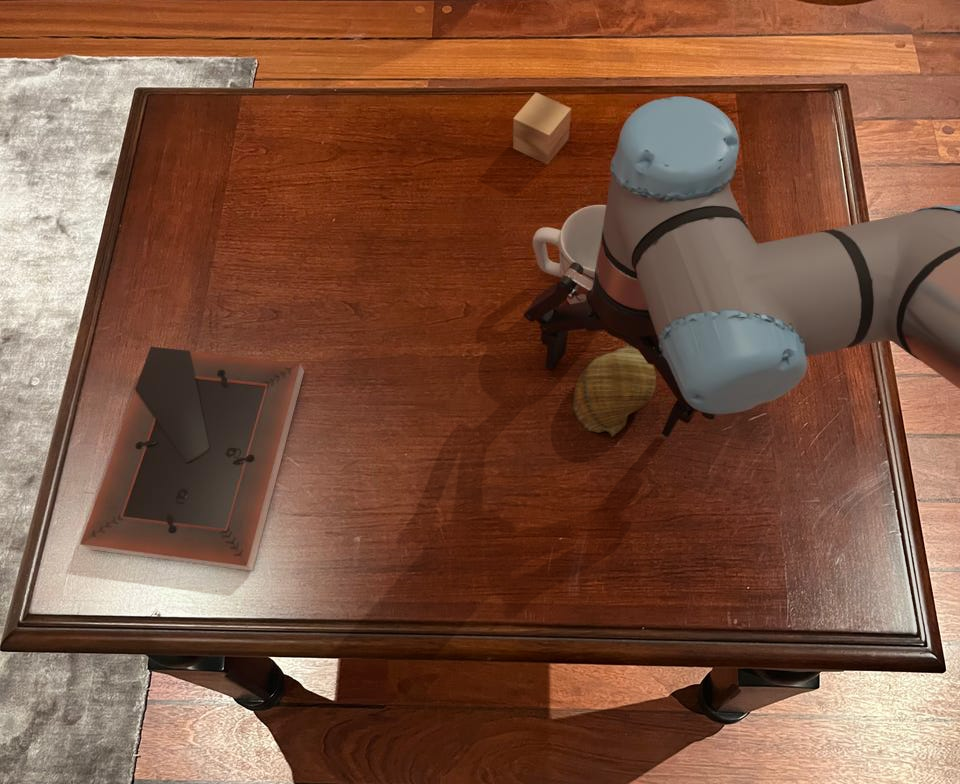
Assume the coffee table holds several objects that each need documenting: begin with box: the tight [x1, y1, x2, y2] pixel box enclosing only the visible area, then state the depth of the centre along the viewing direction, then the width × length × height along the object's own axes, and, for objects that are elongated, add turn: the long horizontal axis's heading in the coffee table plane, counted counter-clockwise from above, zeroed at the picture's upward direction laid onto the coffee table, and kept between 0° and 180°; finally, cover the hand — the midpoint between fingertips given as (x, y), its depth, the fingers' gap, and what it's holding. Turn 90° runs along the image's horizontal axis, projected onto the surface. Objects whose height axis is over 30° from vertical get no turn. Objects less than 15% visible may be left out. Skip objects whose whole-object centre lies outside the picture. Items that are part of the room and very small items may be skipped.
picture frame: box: [79, 346, 305, 572], centre depth 81 cm, size 16×2×22 cm
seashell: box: [572, 344, 657, 438], centre depth 81 cm, size 10×7×8 cm
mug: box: [532, 204, 606, 304], centre depth 85 cm, size 11×8×10 cm
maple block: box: [512, 92, 572, 166], centre depth 97 cm, size 5×5×5 cm
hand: (612, 392), depth 82 cm, fingers open, 13 cm apart
